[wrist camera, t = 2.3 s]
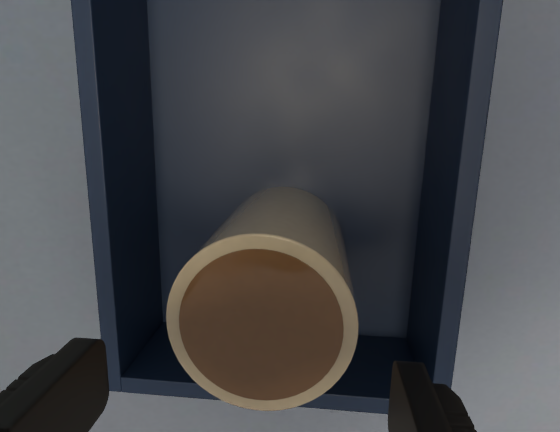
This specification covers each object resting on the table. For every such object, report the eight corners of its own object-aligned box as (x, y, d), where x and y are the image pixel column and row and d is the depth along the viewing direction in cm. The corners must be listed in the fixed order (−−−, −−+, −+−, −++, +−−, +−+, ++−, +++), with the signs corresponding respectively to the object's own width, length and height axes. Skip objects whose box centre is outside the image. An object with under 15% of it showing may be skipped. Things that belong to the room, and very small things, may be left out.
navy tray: (124, -177, 19) (43, -296, 14) (477, -192, 18) (548, -330, 12) (153, 329, 25) (105, 390, 20) (418, 348, 24) (447, 419, 18)
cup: (277, 160, 22) (247, 191, 13) (370, 243, 22) (401, 326, 14) (200, 249, 23) (127, 330, 15) (288, 324, 24) (269, 445, 15)
